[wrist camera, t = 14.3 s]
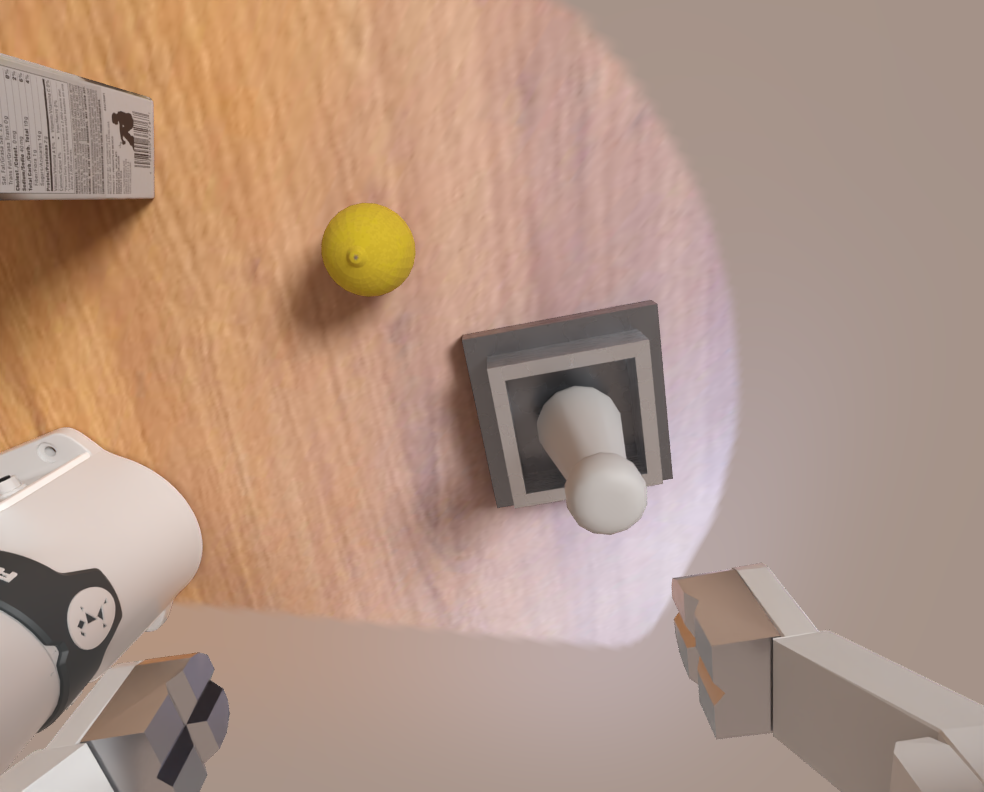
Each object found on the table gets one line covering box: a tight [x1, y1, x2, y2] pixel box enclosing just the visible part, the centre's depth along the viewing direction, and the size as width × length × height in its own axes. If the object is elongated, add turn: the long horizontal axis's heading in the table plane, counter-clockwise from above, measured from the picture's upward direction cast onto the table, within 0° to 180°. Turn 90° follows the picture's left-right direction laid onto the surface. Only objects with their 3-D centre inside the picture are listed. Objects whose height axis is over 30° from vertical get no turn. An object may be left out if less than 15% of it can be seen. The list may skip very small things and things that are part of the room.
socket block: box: [462, 300, 673, 508], centre depth 40 cm, size 14×14×4 cm
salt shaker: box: [537, 386, 647, 535], centre depth 35 cm, size 6×6×13 cm
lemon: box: [321, 203, 415, 297], centre depth 35 cm, size 6×6×8 cm
